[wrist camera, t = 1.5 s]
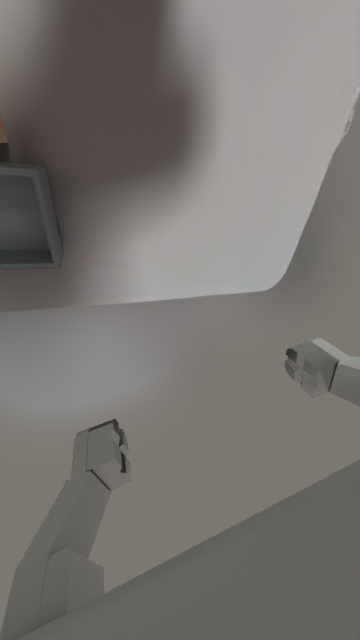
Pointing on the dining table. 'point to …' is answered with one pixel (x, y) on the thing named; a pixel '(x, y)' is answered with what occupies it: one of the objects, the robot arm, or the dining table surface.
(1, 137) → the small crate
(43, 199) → the big crate
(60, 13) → the dining table surface
